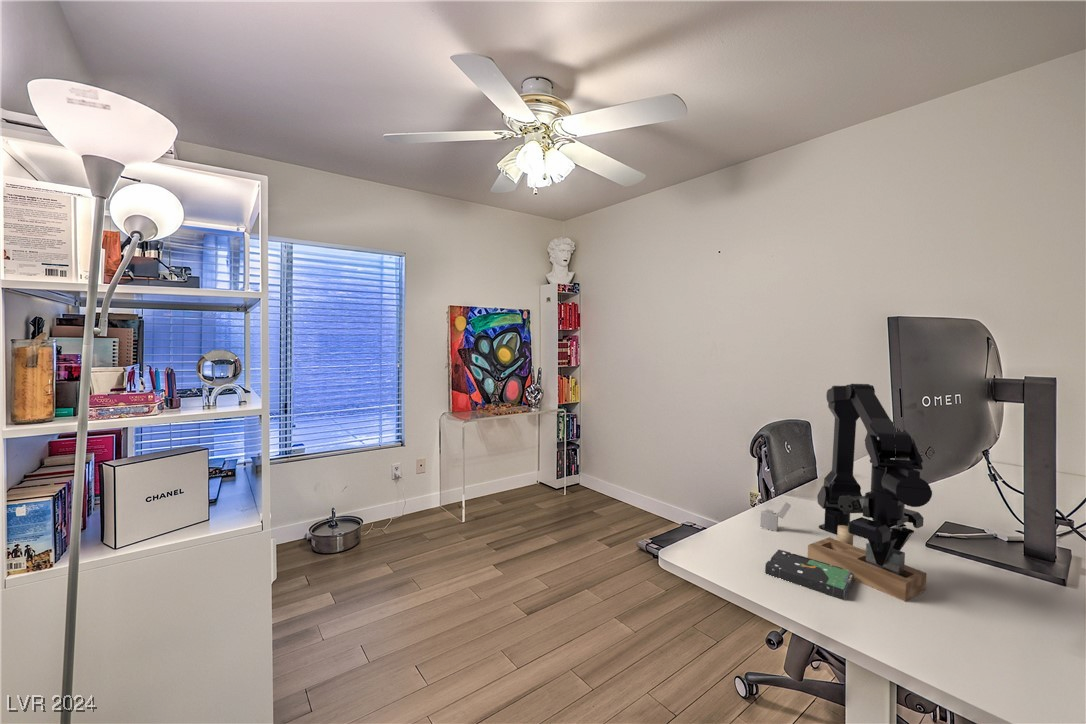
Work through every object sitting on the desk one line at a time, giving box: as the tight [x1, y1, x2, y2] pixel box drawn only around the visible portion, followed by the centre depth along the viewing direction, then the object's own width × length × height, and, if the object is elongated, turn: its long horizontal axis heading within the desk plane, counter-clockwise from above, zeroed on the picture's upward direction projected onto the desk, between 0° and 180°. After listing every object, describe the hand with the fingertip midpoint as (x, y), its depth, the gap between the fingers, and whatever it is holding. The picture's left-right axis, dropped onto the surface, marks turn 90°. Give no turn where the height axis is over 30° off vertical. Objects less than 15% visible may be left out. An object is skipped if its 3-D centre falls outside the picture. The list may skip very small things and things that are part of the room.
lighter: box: [759, 501, 792, 532], centre depth 119 cm, size 7×2×8 cm, turn 57°
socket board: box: [807, 536, 928, 602], centre depth 97 cm, size 9×19×4 cm, turn 29°
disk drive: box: [764, 549, 854, 601], centre depth 95 cm, size 10×3×15 cm
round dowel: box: [836, 525, 854, 546], centre depth 107 cm, size 3×3×6 cm
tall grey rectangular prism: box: [865, 542, 906, 577], centre depth 93 cm, size 2×6×8 cm, turn 29°
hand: (884, 562), depth 93 cm, fingers open, 4 cm apart
